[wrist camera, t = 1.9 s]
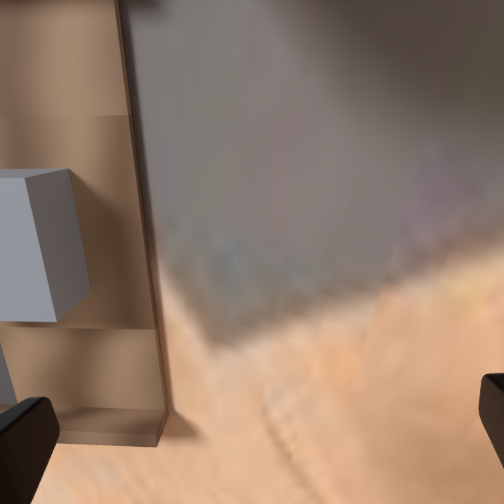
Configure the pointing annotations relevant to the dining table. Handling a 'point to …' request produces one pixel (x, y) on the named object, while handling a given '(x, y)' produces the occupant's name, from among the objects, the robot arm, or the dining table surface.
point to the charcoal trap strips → (6, 383)
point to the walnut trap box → (84, 221)
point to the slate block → (39, 246)
